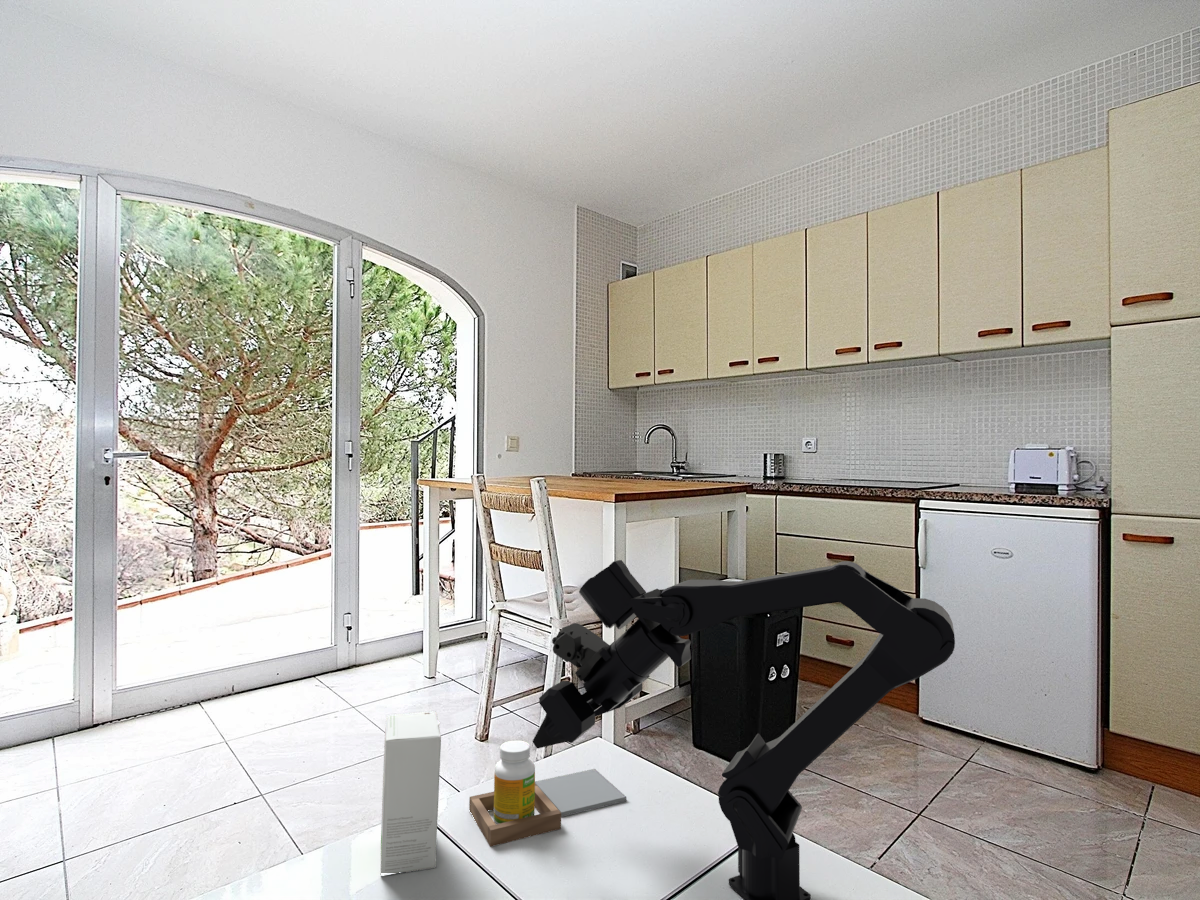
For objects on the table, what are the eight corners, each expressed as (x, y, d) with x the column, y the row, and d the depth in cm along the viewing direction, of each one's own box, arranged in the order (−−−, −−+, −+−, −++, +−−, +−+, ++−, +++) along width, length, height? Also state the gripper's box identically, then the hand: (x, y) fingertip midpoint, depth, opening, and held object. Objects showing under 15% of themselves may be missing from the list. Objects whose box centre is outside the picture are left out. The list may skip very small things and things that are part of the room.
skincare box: (381, 840, 82) (384, 713, 83) (435, 832, 84) (437, 708, 85) (379, 879, 74) (382, 739, 75) (439, 869, 76) (442, 732, 77)
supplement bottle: (527, 833, 84) (528, 756, 84) (487, 828, 85) (488, 752, 85) (539, 812, 89) (540, 739, 90) (501, 808, 90) (502, 736, 91)
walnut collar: (561, 828, 85) (561, 813, 85) (490, 846, 81) (490, 830, 81) (534, 797, 93) (534, 782, 93) (469, 811, 89) (469, 796, 89)
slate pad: (626, 800, 92) (626, 796, 92) (561, 816, 88) (561, 812, 88) (594, 772, 101) (594, 768, 101) (534, 785, 97) (534, 781, 97)
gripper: (622, 595, 92) (553, 664, 96) (555, 619, 75) (475, 701, 79) (675, 659, 88) (601, 728, 92) (616, 700, 71) (529, 782, 76)
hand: (554, 732), depth 85 cm, fingers open, 9 cm apart
